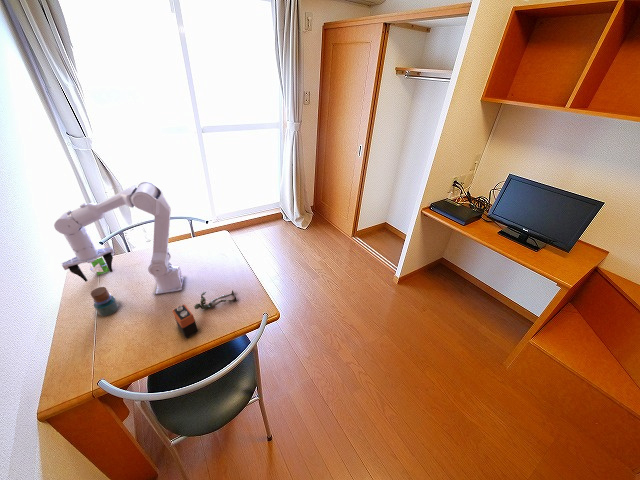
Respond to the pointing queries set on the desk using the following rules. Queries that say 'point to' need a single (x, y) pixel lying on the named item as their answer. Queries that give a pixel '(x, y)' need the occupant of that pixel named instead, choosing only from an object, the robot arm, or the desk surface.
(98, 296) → the brown short cylinder
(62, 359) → the desk surface
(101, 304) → the ink bottle
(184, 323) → the battery
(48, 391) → the desk surface
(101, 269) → the geometric puzzle
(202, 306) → the zombie figurine
